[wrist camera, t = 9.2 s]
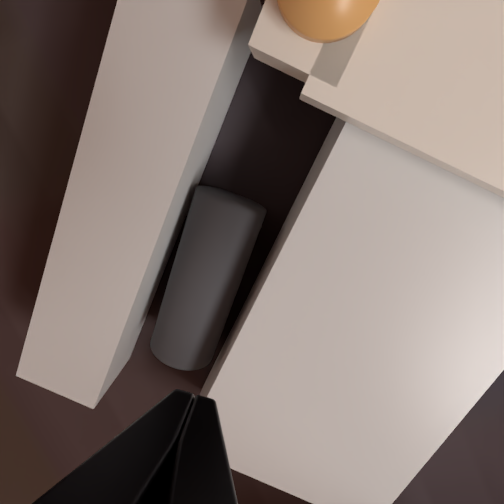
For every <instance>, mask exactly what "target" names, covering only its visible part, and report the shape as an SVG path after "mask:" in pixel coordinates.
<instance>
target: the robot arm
mask: <svg viewBox="0 0 504 504" xmlns="http://www.w3.org/2000/svg"><path fill="white" fill-rule="evenodd" d="M32 504H238V502H237V497H236V492H235V488H234V483H233V479H232V474H231V469H230V465H229V460H228V455H227V451H226V446H225V441H224V437H223V432H222V427H221V423H220V418H219V413H218V409H217V404H216V401H215V400H214V399H211V398H208V397H204V396H201V395H197V396H196V397H195V398H194V394H193V393H190V392H186V391H182V390H179V389H176V390H174V391H172V392H171V393H170V394H168V395H167V396H166V397H165V398H163V399H162V400H161V401H160V402H158V403H157V404H156V405H155V406H153V407H152V408H151V409H150V410H148V411H147V412H146V413H145V414H143V415H142V416H141V417H140V418H138V419H137V420H136V421H135V422H133V423H132V424H131V425H130V426H128V427H127V428H126V429H125V430H123V431H122V432H121V433H120V434H118V435H117V436H116V437H115V438H113V439H112V440H111V441H110V442H108V443H107V444H106V445H105V446H103V447H102V448H101V449H100V450H98V451H97V452H96V453H95V454H93V455H92V456H91V457H90V458H88V459H87V460H86V461H85V462H83V463H82V464H81V465H80V466H78V467H77V468H76V469H75V470H73V471H72V472H71V473H70V474H68V475H67V476H66V477H65V478H63V479H62V480H61V481H60V482H58V483H57V484H56V485H55V486H53V487H52V488H51V489H50V490H48V491H47V492H46V493H45V494H43V495H42V496H41V497H40V498H38V499H37V500H36V501H35V502H33V503H32Z"/></svg>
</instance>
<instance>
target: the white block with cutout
mask: <svg viewBox="0 0 504 504" xmlns="http://www.w3.org/2000/svg"><path fill="white" fill-rule="evenodd" d="M261 10H262V7H261V3H260V0H117V4H116V7H115V11H114V15H113V19H112V22H111V26H110V30H109V33H108V37H107V41H106V44H105V48H104V52H103V55H102V59H101V63H100V67H99V70H98V74H97V78H96V81H95V85H94V89H93V92H92V96H91V100H90V104H89V107H88V111H87V115H86V118H85V122H84V126H83V129H82V133H81V137H80V141H79V144H78V148H77V152H76V155H75V159H74V163H73V166H72V170H71V174H70V177H69V181H68V185H67V189H66V192H65V196H64V200H63V203H62V207H61V211H60V214H59V218H58V222H57V226H56V229H55V233H54V237H53V240H52V244H51V248H50V251H49V255H48V259H47V263H46V266H45V270H44V274H43V277H42V281H41V285H40V288H39V292H38V296H37V300H36V303H35V307H34V311H33V314H32V318H31V322H30V325H29V329H28V333H27V336H26V340H25V344H24V348H23V351H22V355H21V359H20V362H19V366H18V370H17V373H16V376H18V377H20V378H22V379H25V380H27V381H29V382H32V383H34V384H36V385H39V386H41V387H43V388H46V389H48V390H50V391H53V392H55V393H57V394H60V395H62V396H64V397H66V398H69V399H71V400H73V401H76V402H78V403H80V404H83V405H85V406H87V407H90V408H92V409H94V408H95V406H96V405H97V404H98V402H99V401H100V399H101V398H102V397H103V395H104V394H105V392H106V391H107V390H108V388H109V387H110V385H111V384H112V383H113V381H114V380H115V378H116V377H117V376H118V374H119V373H120V371H121V370H122V369H123V367H124V366H125V364H126V363H127V361H128V360H129V359H130V356H131V354H132V351H133V349H134V346H135V344H136V341H137V339H138V336H139V334H140V331H141V329H142V326H143V324H144V321H145V319H146V316H147V313H148V311H149V308H150V306H151V303H152V301H153V298H154V296H155V293H156V291H157V288H158V286H159V283H160V281H161V278H162V275H163V273H164V270H165V268H166V265H167V263H168V260H169V258H170V255H171V253H172V250H173V248H174V245H175V243H176V240H177V238H178V235H179V232H180V230H181V227H182V225H183V222H184V220H185V217H186V215H187V212H188V210H189V207H190V205H191V202H192V199H193V196H194V192H195V189H196V187H197V186H198V184H199V182H200V179H201V177H202V174H203V172H204V169H205V167H206V164H207V162H208V159H209V157H210V154H211V152H212V149H213V146H214V144H215V141H216V139H217V136H218V134H219V131H220V129H221V126H222V124H223V121H224V119H225V116H226V114H227V111H228V108H229V106H230V103H231V101H232V98H233V96H234V93H235V91H236V88H237V86H238V83H239V81H240V78H241V76H242V73H243V71H244V68H245V65H246V63H247V60H248V58H249V55H250V53H251V50H250V48H249V46H248V43H249V41H250V38H251V36H252V33H253V31H254V28H255V26H256V23H257V20H258V18H259V15H260V13H261ZM503 370H504V198H503V197H501V196H499V195H497V194H495V193H493V192H491V191H489V190H487V189H484V188H482V187H480V186H478V185H476V184H474V183H472V182H470V181H468V180H466V179H464V178H462V177H460V176H457V175H455V174H453V173H451V172H449V171H447V170H445V169H443V168H441V167H439V166H437V165H435V164H433V163H431V162H428V161H426V160H424V159H422V158H420V157H418V156H416V155H414V154H412V153H410V152H408V151H406V150H404V149H401V148H399V147H397V146H395V145H393V144H391V143H389V142H387V141H385V140H383V139H381V138H379V137H377V136H375V135H372V134H370V133H368V132H366V131H364V130H362V129H360V128H358V127H356V126H354V125H352V124H350V123H348V122H345V121H343V120H341V119H339V118H337V117H336V119H335V121H334V123H333V125H332V127H331V129H330V131H329V133H328V135H327V137H326V139H325V141H324V143H323V145H322V147H321V149H320V151H319V153H318V155H317V157H316V159H315V161H314V163H313V165H312V167H311V169H310V171H309V173H308V175H307V177H306V179H305V181H304V183H303V185H302V187H301V189H300V191H299V193H298V195H297V198H296V200H295V202H294V204H293V206H292V208H291V210H290V212H289V214H288V216H287V218H286V220H285V222H284V224H283V226H282V228H281V230H280V232H279V234H278V236H277V238H276V240H275V242H274V244H273V246H272V248H271V250H270V252H269V254H268V256H267V258H266V260H265V262H264V264H263V266H262V268H261V270H260V272H259V274H258V276H257V278H256V280H255V282H254V284H253V286H252V288H251V290H250V292H249V295H248V297H247V299H246V301H245V303H244V305H243V307H242V309H241V311H240V313H239V315H238V317H237V319H236V321H235V323H234V325H233V327H232V329H231V331H230V333H229V335H228V337H227V339H226V341H225V343H224V345H223V347H222V349H221V351H220V353H219V355H218V357H217V359H216V361H215V363H214V365H213V367H212V369H211V371H210V373H209V375H208V377H207V379H206V381H205V383H204V385H203V387H202V389H201V392H200V395H201V396H204V397H208V398H211V399H214V400H215V401H216V404H217V409H218V413H219V418H220V423H221V427H222V432H223V437H224V441H225V446H226V451H227V455H228V460H229V465H230V468H231V469H233V470H236V471H238V472H240V473H243V474H245V475H247V476H250V477H252V478H254V479H257V480H259V481H261V482H264V483H266V484H268V485H271V486H273V487H275V488H278V489H280V490H282V491H285V492H287V493H289V494H291V495H294V496H296V497H298V498H301V499H303V500H305V501H308V502H310V503H312V504H392V503H393V502H394V501H395V499H396V498H397V497H398V496H399V495H400V493H401V492H402V491H403V490H404V489H405V487H406V486H407V485H408V484H409V483H410V481H411V480H412V479H413V478H414V477H415V475H416V474H417V473H418V472H419V471H420V469H421V468H422V467H423V466H424V465H425V463H426V462H427V461H428V460H429V459H430V457H431V456H432V455H433V454H434V453H435V451H436V450H437V449H438V448H439V447H440V445H441V444H442V443H443V442H444V441H445V439H446V438H447V437H448V436H449V435H450V433H451V432H452V431H453V430H454V429H455V427H456V426H457V425H458V424H459V423H460V421H461V420H462V419H463V418H464V417H465V415H466V414H467V413H468V412H469V411H470V409H471V408H472V407H473V406H474V405H475V403H476V402H477V401H478V400H479V399H480V397H481V396H482V395H483V394H484V393H485V391H486V390H487V389H488V388H489V387H490V385H491V384H492V383H493V382H494V381H495V379H496V378H497V377H498V376H499V375H500V373H501V372H502V371H503Z"/></svg>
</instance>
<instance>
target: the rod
mask: <svg viewBox="0 0 504 504" xmlns="http://www.w3.org/2000/svg"><path fill="white" fill-rule="evenodd" d="M266 212H267V211H266V209H265V208H264V207H263V206H261V205H260V204H258V203H257V202H255V201H253V200H251V199H249V198H246V197H243V196H240V195H238V194H235V193H232V192H229V191H227V190H224V189H221V188H217V187H212V186H197V187H196V189H195V192H194V196H193V199H192V202H191V206H190V209H189V213H188V216H187V219H186V223H185V226H184V230H183V233H182V236H181V240H180V243H179V246H178V250H177V253H176V257H175V260H174V263H173V267H172V270H171V274H170V277H169V280H168V284H167V287H166V291H165V294H164V297H163V301H162V304H161V307H160V311H159V314H158V318H157V321H156V324H155V328H154V331H153V335H152V338H151V342H150V347H151V350H152V352H153V354H154V355H155V356H156V358H157V359H159V360H160V361H161V362H163V363H164V364H166V365H168V366H170V367H173V368H176V369H180V370H188V371H189V370H198V369H202V368H204V367H206V366H207V365H209V364H210V362H211V361H212V358H213V356H214V353H215V350H216V348H217V345H218V342H219V339H220V337H221V334H222V331H223V329H224V326H225V323H226V321H227V318H228V315H229V312H230V310H231V307H232V304H233V302H234V299H235V296H236V294H237V291H238V288H239V285H240V283H241V280H242V277H243V275H244V272H245V269H246V266H247V264H248V261H249V258H250V256H251V253H252V250H253V248H254V245H255V242H256V239H257V237H258V234H259V231H260V229H261V226H262V223H263V221H264V218H265V215H266Z"/></svg>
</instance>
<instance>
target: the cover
mask: <svg viewBox="0 0 504 504" xmlns="http://www.w3.org/2000/svg"><path fill="white" fill-rule="evenodd" d="M248 46H249V48H250V50H251V52H252V54H253V57H254V58H255V59H257V60H259V61H261V62H263V63H265V64H267V65H269V66H271V67H274V68H276V69H278V70H280V71H282V72H284V73H286V74H288V75H290V76H292V77H294V78H296V79H298V80H300V81H302V82H304V83H305V85H304V87H303V90H302V92H301V95H300V98H299V99H300V100H302V101H304V102H306V103H308V104H310V105H312V106H314V107H316V108H318V109H321V110H323V111H325V112H327V113H329V114H331V115H333V116H335V117H337V118H339V119H341V120H343V121H345V122H348V123H350V124H352V125H354V126H356V127H358V128H360V129H362V130H364V131H366V132H368V133H370V134H372V135H375V136H377V137H379V138H381V139H383V140H385V141H387V142H389V143H391V144H393V145H395V146H397V147H399V148H401V149H404V150H406V151H408V152H410V153H412V154H414V155H416V156H418V157H420V158H422V159H424V160H426V161H428V162H431V163H433V164H435V165H437V166H439V167H441V168H443V169H445V170H447V171H449V172H451V173H453V174H455V175H457V176H460V177H462V178H464V179H466V180H468V181H470V182H472V183H474V184H476V185H478V186H480V187H482V188H484V189H487V190H489V191H491V192H493V193H495V194H497V195H499V196H501V197H503V198H504V0H265V3H264V5H263V8H262V10H261V13H260V15H259V18H258V20H257V23H256V26H255V28H254V31H253V33H252V36H251V38H250V41H249V43H248Z"/></svg>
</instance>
